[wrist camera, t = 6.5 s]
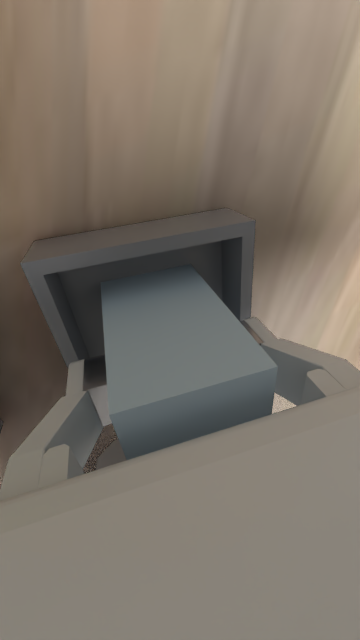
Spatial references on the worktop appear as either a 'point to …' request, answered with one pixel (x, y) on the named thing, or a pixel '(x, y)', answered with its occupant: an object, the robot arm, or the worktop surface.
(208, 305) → the block
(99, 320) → the dish block
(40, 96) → the worktop surface
